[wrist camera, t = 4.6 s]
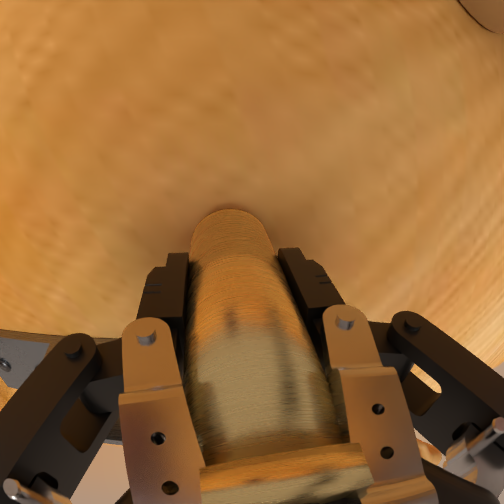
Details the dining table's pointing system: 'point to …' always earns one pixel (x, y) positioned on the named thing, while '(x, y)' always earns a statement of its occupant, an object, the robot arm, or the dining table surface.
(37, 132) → the dining table surface
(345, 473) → the pin
